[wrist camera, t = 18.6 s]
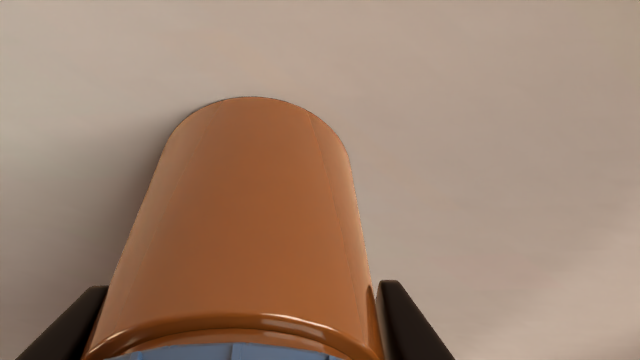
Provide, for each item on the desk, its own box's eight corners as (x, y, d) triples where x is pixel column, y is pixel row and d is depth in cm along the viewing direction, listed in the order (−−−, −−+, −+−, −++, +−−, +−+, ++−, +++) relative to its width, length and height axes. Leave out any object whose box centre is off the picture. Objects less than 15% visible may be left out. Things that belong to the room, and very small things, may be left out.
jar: (243, 263, 15) (212, 545, 9) (119, 159, 12) (-52, 484, 6) (382, 196, 14) (456, 488, 8) (280, 55, 10) (265, 361, 4)
